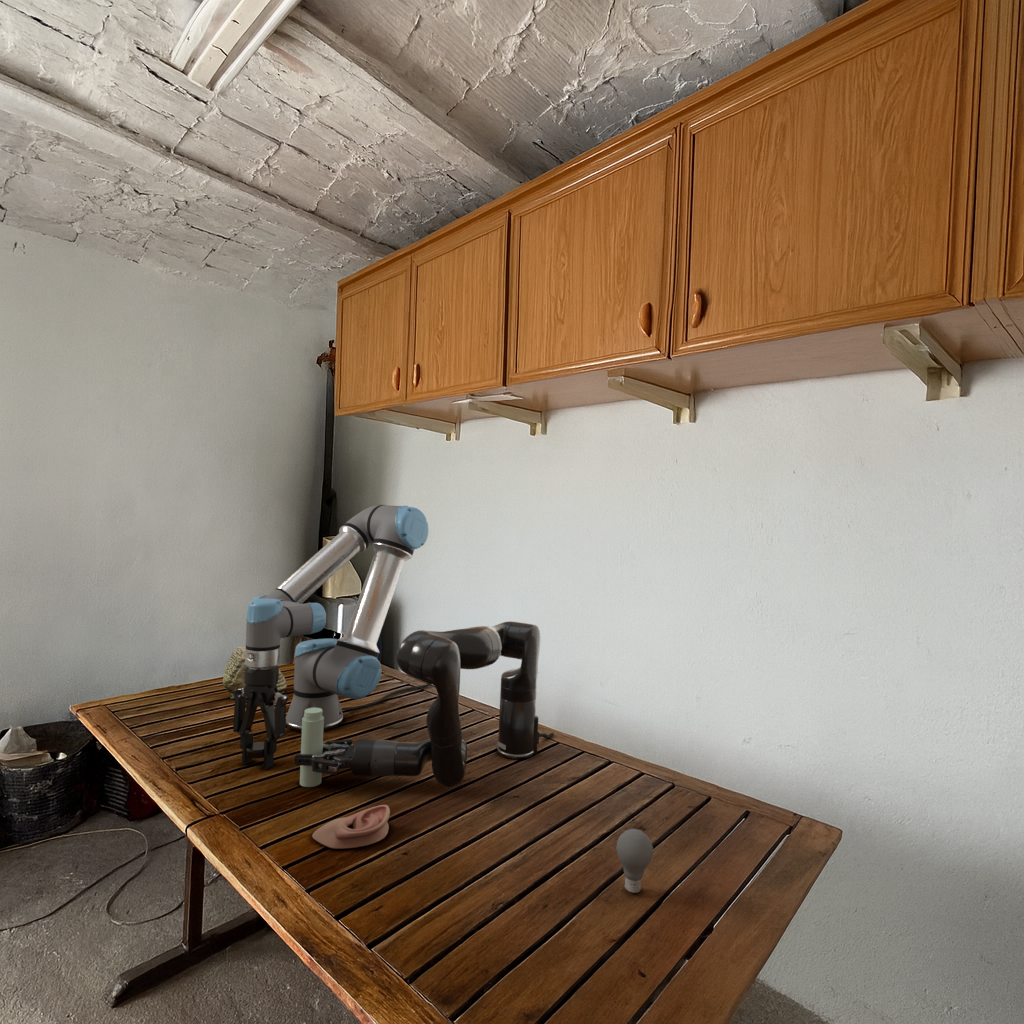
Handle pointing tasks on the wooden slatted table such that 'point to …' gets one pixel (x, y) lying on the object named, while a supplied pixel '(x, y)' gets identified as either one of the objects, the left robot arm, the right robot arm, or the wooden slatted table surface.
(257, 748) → the lid
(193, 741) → the wooden slatted table surface
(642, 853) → the light bulb
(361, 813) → the anatomical model
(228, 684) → the fossil
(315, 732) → the pale green cylinder
